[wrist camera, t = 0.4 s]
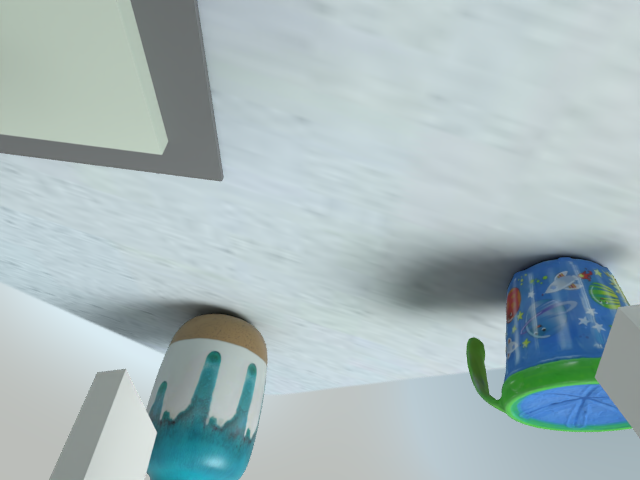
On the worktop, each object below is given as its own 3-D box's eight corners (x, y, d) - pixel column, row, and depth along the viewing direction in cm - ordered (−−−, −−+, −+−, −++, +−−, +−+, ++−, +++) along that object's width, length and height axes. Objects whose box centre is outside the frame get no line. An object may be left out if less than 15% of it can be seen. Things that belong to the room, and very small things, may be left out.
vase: (256, 350, 54) (217, 538, 43) (169, 324, 51) (103, 522, 40) (291, 318, 46) (255, 540, 35) (191, 286, 43) (116, 519, 32)
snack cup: (667, 210, 28) (738, 367, 22) (686, 287, 35) (745, 425, 29) (435, 272, 37) (442, 398, 31) (485, 325, 43) (498, 438, 37)
